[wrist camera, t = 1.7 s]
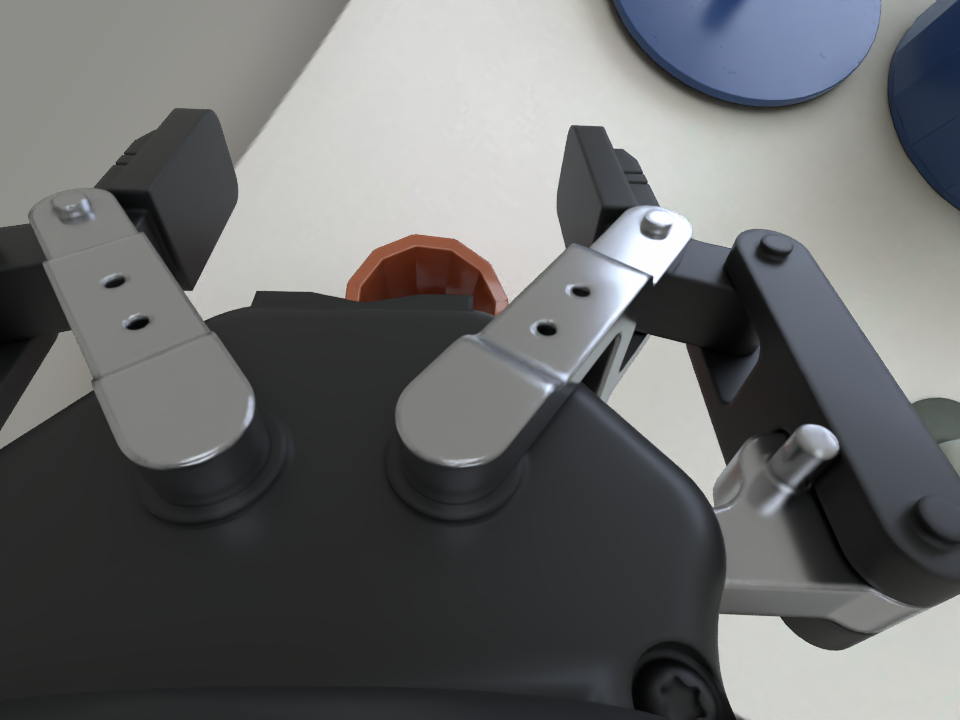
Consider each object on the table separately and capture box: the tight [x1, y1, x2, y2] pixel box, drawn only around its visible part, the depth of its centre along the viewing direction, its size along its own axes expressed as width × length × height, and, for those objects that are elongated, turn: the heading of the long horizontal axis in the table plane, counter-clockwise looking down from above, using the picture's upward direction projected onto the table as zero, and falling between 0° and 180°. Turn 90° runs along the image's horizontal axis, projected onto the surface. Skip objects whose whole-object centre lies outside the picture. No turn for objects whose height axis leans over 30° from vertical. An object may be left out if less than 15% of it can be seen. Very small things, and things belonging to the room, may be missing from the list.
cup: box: [345, 234, 508, 316], centre depth 24 cm, size 6×6×10 cm
